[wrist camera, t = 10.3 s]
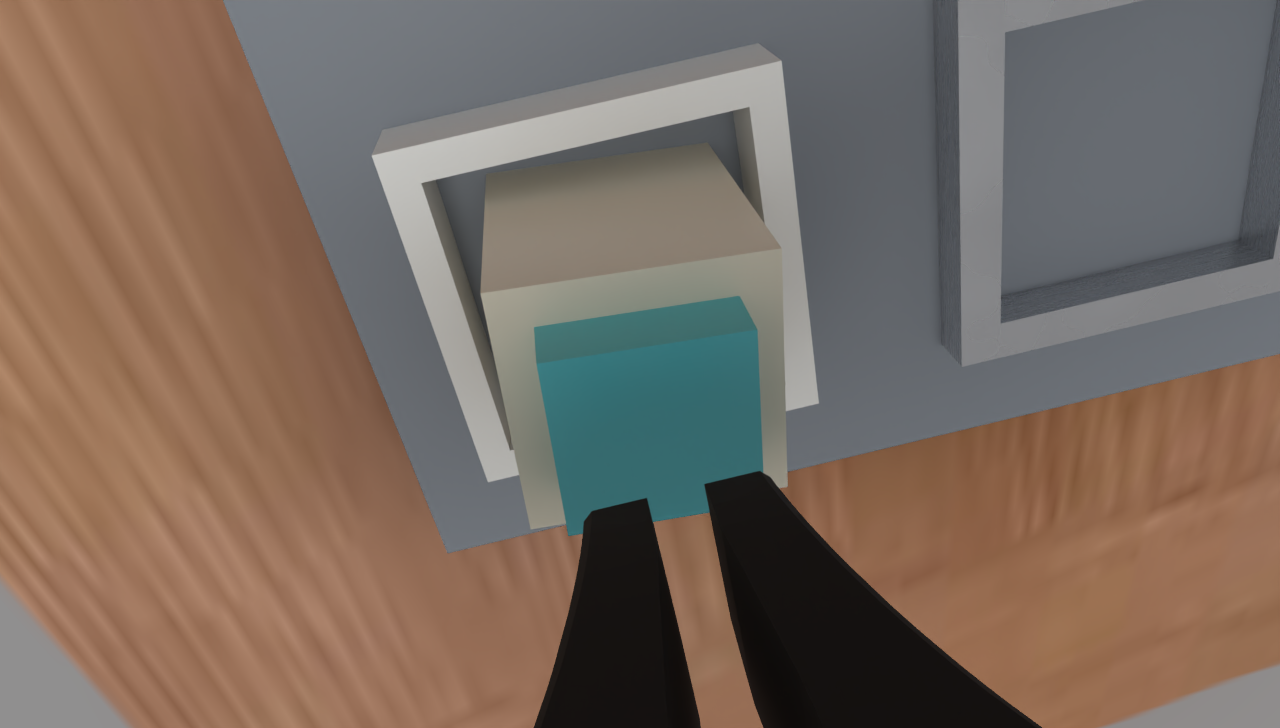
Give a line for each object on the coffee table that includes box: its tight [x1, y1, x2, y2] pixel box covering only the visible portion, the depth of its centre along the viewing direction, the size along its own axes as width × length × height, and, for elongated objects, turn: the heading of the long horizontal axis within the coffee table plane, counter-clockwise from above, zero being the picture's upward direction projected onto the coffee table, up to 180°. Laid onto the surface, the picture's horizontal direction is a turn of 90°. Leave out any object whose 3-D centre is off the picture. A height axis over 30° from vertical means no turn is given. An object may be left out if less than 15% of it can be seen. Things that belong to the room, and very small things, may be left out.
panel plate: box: [223, 0, 1280, 553], centre depth 18 cm, size 20×12×1 cm, turn 101°
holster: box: [933, 0, 1280, 367], centre depth 17 cm, size 7×7×1 cm
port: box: [372, 43, 819, 482], centre depth 16 cm, size 7×7×2 cm
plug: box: [480, 143, 788, 536], centre depth 15 cm, size 4×4×6 cm
